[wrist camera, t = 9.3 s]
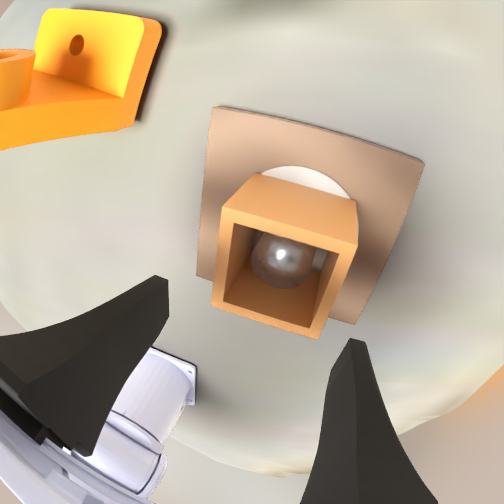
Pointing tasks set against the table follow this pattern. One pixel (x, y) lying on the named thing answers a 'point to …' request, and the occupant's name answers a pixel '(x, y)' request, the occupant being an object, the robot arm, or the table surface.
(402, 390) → the table surface
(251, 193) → the collar
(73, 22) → the bracket
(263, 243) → the steel post
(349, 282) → the post base
